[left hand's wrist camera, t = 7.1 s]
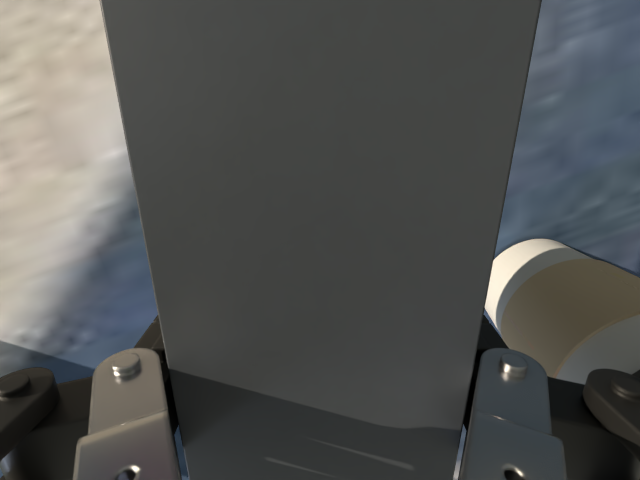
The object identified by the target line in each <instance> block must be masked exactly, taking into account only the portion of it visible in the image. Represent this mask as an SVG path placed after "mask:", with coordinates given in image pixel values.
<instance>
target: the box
mask: <svg viewBox="0 0 640 480" xmlns="http://www.w3.org/2000/svg"><path fill="white" fill-rule="evenodd" d="M541 2H542V0H100V5H101V10H102V16H103V21H104V27H105V32H106V37H107V43H108V48H109V53H110V59H111V64H112V69H113V75H114V80H115V86H116V91H117V96H118V102H119V107H120V112H121V118H122V123H123V128H124V134H125V139H126V144H127V150H128V155H129V161H130V166H131V171H132V177H133V182H134V187H135V193H136V198H137V203H138V209H139V214H140V219H141V225H142V230H143V236H144V241H145V246H146V252H147V257H148V262H149V268H150V273H151V278H152V284H153V289H154V294H155V300H156V305H157V311H158V316H159V321H160V327H161V332H162V337H163V343H164V348H165V353H166V359H167V364H168V369H169V375H170V380H171V386H172V391H173V396H174V402H175V407H176V412H177V418H178V423H179V428H180V434H181V439H182V444H183V450H184V455H185V461H186V466H187V471H188V477H189V480H453V475H454V470H455V465H456V459H457V454H458V448H459V443H460V438H461V432H462V427H463V422H464V416H465V411H466V405H467V400H468V395H469V389H470V384H471V379H472V373H473V368H474V362H475V357H476V352H477V346H478V341H479V335H480V330H481V325H482V319H483V314H484V309H485V303H486V298H487V292H488V287H489V282H490V276H491V271H492V265H493V260H494V255H495V249H496V244H497V239H498V233H499V228H500V222H501V217H502V212H503V206H504V201H505V195H506V190H507V185H508V179H509V174H510V169H511V163H512V158H513V152H514V147H515V142H516V136H517V131H518V125H519V120H520V115H521V109H522V104H523V99H524V93H525V88H526V82H527V77H528V72H529V66H530V61H531V55H532V50H533V45H534V39H535V34H536V29H537V23H538V18H539V12H540V7H541Z"/></svg>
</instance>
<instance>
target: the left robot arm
mask: <svg viewBox="0 0 640 480" xmlns="http://www.w3.org/2000/svg"><path fill="white" fill-rule="evenodd" d="M463 424H464V426H465V428H466V431H467V432H466V437H465V442H464V448H463V454H462V459H461V465H460V471H459V477H458V480H640V378H638V377H636V376H634V375H631V374H628V373H625V372H622V371H618V370H613V369H595V370H593V371H591V372H590V373H589V374H588V377H587V380H586V383H585V385H584V384H579V383H575V382H570V381H565V380H561V379H556V378H552V377H549V376H547V373H546V371H545V369H544V368H543V367H542V365H541V364H540V363H538V362H537V361H536V360H535V359H533V358H532V357H530V356H528V355H526V354H524V353H522V352H519V351H516V350H512V349H509V348H508V346H507V345H506V344H505V342H504V341H503V340H502V338H501V337H500V336H499V334H498V333H497V331H496V330H495V329H494V327H493V326H492V325H491V323H489V321H488V319H487V318H486V317H485V315H483V319H482V325H481V330H480V335H479V341H478V346H477V352H476V357H475V362H474V368H473V373H472V379H471V384H470V389H469V395H468V400H467V405H466V411H465V416H464V422H463ZM178 425H179V423H178V418H177V412H176V407H175V402H174V396H173V391H172V386H171V380H170V375H169V369H168V364H167V359H166V353H165V348H164V343H163V337H162V332H161V327H160V321H159V316H158V315H157V317H156V318H155V319H154V323H152V324H151V325H150V326H149V328H148V329H147V330H146V332H145V333H144V334H143V336H142V337H141V338H140V340H139V341H138V343H137V344H136V345H135V347H134V348H133V349H128V350H124V351H121V352H118V353H116V354H114V355H112V356H110V357H108V358H107V359H105V360H104V361H103V362H102V363H101V364H99V365H98V367H97V368H96V369H95V371H94V373H93V376H91V377H87V378H83V379H78V380H74V381H69V382H64V383H59V384H56V381H55V378H54V375H53V373H52V371H50V370H49V369H46V368H40V367H35V368H27V369H22V370H19V371H16V372H13V373H10V374H8V375H5V376H3V377H1V378H0V468H1V470H2V473H3V476H2V477H1V478H0V480H182V477H181V471H180V465H179V459H178V453H177V448H176V442H175V437H174V434H175V432H176V429H177V427H178Z"/></svg>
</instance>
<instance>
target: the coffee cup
mask: <svg viewBox="0 0 640 480" xmlns="http://www.w3.org/2000/svg"><path fill="white" fill-rule="evenodd" d="M485 309H486V311H487V312H488V314H489V316H490V317H491V319H492V321H493V322H494V324H495V326H496V327H497V329H498V331H499V332H500V334H501V335H502V340H503V341H504V342H505V344H506V345H507V346H508V348H509V349H512V350H516V351H519V352H522V353H524V354H526V355H528V356H530V357H532V358H533V359H535V360H536V361H537V362H538V363H540V364H541V365H542V367H543V368H544V369H545V371H546V373H547V376H549V377H552V378H556V379H561V380H565V381H570V382H575V383H579V384H584V385H585V383H586V380H587V377H588V374H589V373H590V372H591V371H593V370H595V369H613V370H618V371H622V372H625V373H628V374H631V375H634V376H636V377H638V378H640V278H639V277H637V276H635V275H632V274H630V273H628V272H626V271H624V270H622V269H620V268H618V267H616V266H614V265H611V264H609V263H607V262H604V261H600V260H595V259H592V258H590V257H588V256H586V255H584V254H582V253H580V252H578V251H576V250H574V249H572V248H570V247H568V246H566V245H564V244H562V243H560V242H557V241H554V240H549V239H533V240H528V241H524V242H521V243H518V244H516V245H514V246H512V247H510V248H508V249H507V250H505V251H504V252H502V253H501V254H500V255H499V256H498V257H496V258H495V259H494V261H493V265H492V271H491V276H490V282H489V287H488V292H487V298H486V303H485Z"/></svg>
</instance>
